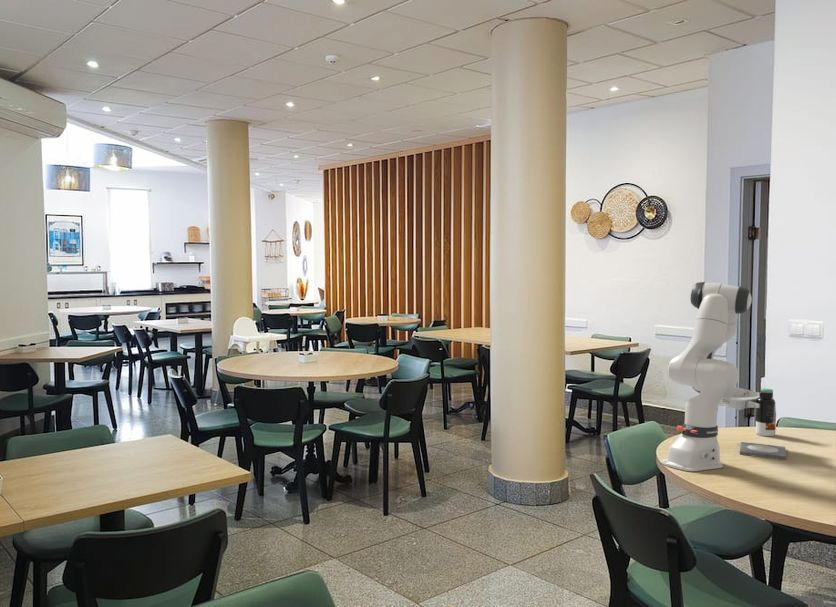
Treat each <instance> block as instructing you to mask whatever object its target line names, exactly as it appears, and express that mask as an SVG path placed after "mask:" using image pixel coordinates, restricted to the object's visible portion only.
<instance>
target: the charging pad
mask: <svg viewBox="0 0 836 607" xmlns="http://www.w3.org/2000/svg"><path fill="white" fill-rule="evenodd" d="M742 454H745V455H744V456H750V455H754V456H753V457H759V456H762V457H761V458H768V457H769V458H770V459H776V458H777V460H785V459H786V460H787V452H786V446H781V445H771V444H765V443H764V444H763V443H756V442H746V441H745V442H744V441H741V442H740V448H739V455H742Z"/></svg>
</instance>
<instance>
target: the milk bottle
mask: <svg viewBox="0 0 836 607" xmlns="http://www.w3.org/2000/svg"><path fill="white" fill-rule="evenodd" d="M760 391H771V392H773V393H774V390H773V389H771V388H761V389H760ZM776 424H777V407H776V405H775V415H774V422H773V423H770V424H768V423H760V422H757V421H755V435H758V436H761V437H775V436H776V431H777V430H776V428H777V427H776V426H777V425H776Z"/></svg>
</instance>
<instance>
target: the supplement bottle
mask: <svg viewBox="0 0 836 607" xmlns="http://www.w3.org/2000/svg"><path fill="white" fill-rule="evenodd" d="M758 393H759V396H760V397H758V398H757V399H756V403H760V404H761V408H755V409H754V410H755V412H754V421H755V422H756V421H757V422H760V423H768V424H770V423H773V422H774V415H775V406H776V400H775V399H774V391H773V392H771V391H761V390H760V391H758ZM772 397H773V399H772Z"/></svg>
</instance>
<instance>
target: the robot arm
mask: <svg viewBox="0 0 836 607" xmlns="http://www.w3.org/2000/svg"><path fill="white" fill-rule="evenodd" d="M689 300H690V304H691V305H692V306H693V308H697V310H698V311H697V314H696V319H695V323H694V327H693V332H692V336H691V338H690V341H689V343H688V345H687V346H686V347H685V348H684V350H683V351H682V352H680V353H679V354H678V355H676V356H675V357H673V358H672V359H670V361H669V363H668V366H667V375H668V377H669V379H670V380H671V381H672V382H674V383H677V384H680V385H682V386H687V387H688V386H689V387H692V389H694V391H695V392H697V393H698V395H696V396H693V397H690V398H688V400H687V401H686V402H685V405H684V421H683V424H682V425H677V426H676V431H678V432H680V435H679V436H678V437H677V438H676V439H675V441H673V442H672V443H671V444H670V446H669V448H668V450H667V457H665V458H663V459H660V463H661V464H662V465H664V466H667V467H670V468H673V469H676V470H680V471H685V472H699V471H707V470H716V469H722V468H723V467H724V465H723V464H722V463H721V448H720V447H721V446H720V443H719V441H718V438H717V436H718V434H719V429H718V428H719V427H718V426H719V425H718V411H719V406H721V407H727V408H729V409H734V410H737V411H743V410H744V409H751V408H752V409H753V408H755V409H756V408H761V404H760V403H756V399H757V398H758V397H760V396H759V391H758V392H757V391H756V390H755V389H747V388H743V387H742V388H740V387H736V385H737V384H738V382H739V379H740V373H739V370H738V368H737V366H736V365H735V364H734V363H731V362H728V361H726V360H723V359H714V356H715V354H716V352H717V351H718V350H719V349H721V348H722V347H723V345H724V344H725V343H727V342H729V340H731V339H732V338H733V337H734V335H735V334H736V331H737V329H738V318H739V314H745V313H746V312H747V311H748V310H749V308H750V307H751V304H752V300H753V298H752V294H751V291H750V290H749V288H747V287H744V286H740V285H739V286H737V285H732V284H726V283H725V284H724V283H722V282H705V281H700V282H698V281H697V282H696V283H694V285H692V288H691V290H690V293H689ZM772 399H774V396H773V397H772Z"/></svg>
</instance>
